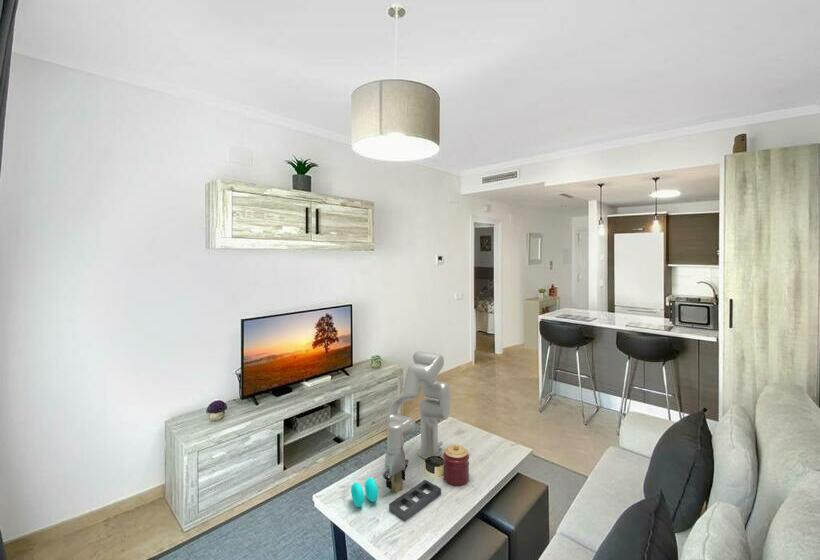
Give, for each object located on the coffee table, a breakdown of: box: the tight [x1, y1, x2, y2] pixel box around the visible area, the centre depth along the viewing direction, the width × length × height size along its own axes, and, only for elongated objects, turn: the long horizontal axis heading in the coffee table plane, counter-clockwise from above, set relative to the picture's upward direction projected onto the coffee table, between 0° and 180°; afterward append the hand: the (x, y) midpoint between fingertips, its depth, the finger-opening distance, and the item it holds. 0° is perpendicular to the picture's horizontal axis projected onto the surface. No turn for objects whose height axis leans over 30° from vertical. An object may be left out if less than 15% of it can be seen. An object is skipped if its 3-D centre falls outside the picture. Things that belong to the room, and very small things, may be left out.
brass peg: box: [389, 471, 403, 494], centre depth 177 cm, size 4×4×9 cm
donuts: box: [350, 477, 379, 508], centre depth 169 cm, size 10×10×10 cm
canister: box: [442, 444, 470, 487], centre depth 185 cm, size 13×13×18 cm
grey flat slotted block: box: [388, 479, 442, 522], centre depth 169 cm, size 24×10×3 cm, turn 136°
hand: (395, 483), depth 177 cm, fingers open, 8 cm apart
